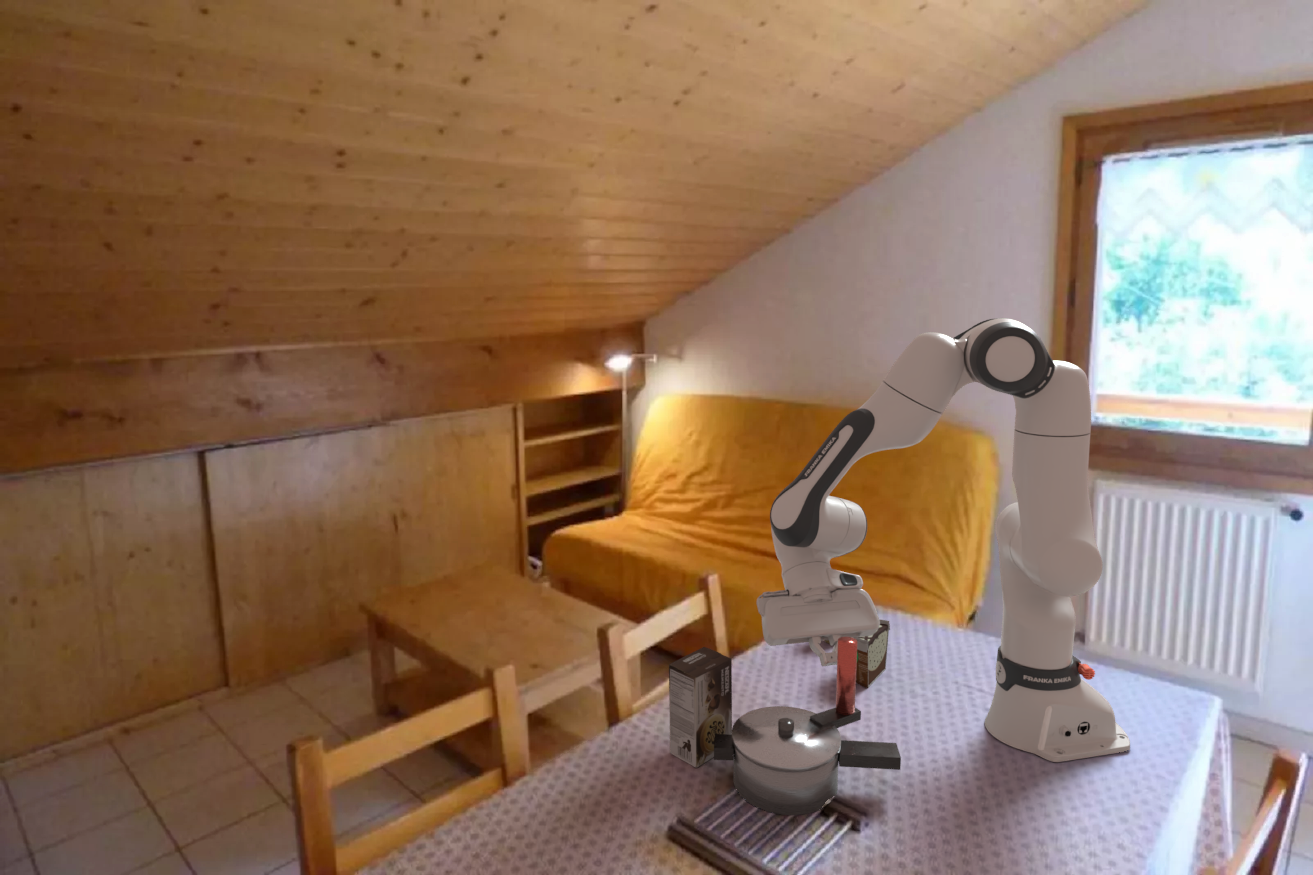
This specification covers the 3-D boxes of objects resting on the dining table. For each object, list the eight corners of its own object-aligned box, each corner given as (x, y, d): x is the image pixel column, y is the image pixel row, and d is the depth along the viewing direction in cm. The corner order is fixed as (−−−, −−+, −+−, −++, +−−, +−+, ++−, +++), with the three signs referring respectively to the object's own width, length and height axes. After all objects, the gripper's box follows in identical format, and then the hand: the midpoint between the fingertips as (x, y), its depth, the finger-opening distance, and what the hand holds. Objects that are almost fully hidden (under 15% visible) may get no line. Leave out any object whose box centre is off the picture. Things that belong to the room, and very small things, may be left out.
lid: (776, 784, 116) (777, 695, 113) (711, 729, 130) (711, 650, 128) (891, 739, 127) (895, 658, 124) (820, 693, 141) (822, 619, 138)
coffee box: (704, 732, 143) (704, 645, 140) (733, 746, 139) (733, 657, 135) (667, 753, 137) (667, 663, 134) (696, 769, 132) (696, 676, 129)
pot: (712, 810, 122) (712, 767, 121) (716, 749, 138) (716, 711, 136) (906, 822, 119) (908, 778, 117) (888, 758, 134) (890, 719, 133)
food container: (859, 658, 170) (860, 613, 168) (888, 666, 166) (890, 620, 164) (834, 682, 160) (836, 634, 158) (865, 691, 156) (867, 642, 154)
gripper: (758, 585, 140) (777, 664, 133) (869, 575, 144) (894, 651, 137) (750, 600, 146) (767, 677, 138) (857, 590, 150) (880, 664, 142)
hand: (831, 664), depth 137 cm, fingers closed
